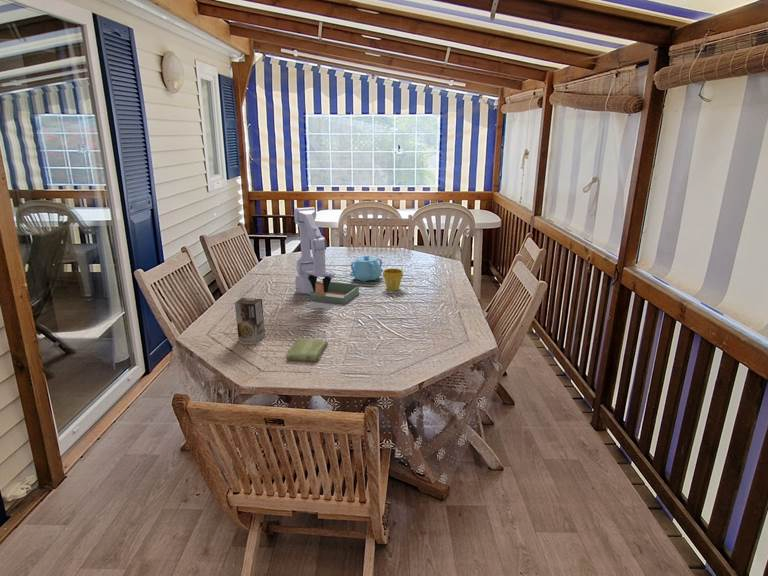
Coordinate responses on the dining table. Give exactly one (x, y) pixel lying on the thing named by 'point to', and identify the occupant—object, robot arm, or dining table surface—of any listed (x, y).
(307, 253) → the robot arm
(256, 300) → the coffee box
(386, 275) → the plant pot
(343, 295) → the green shallow tray
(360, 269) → the decorative pot
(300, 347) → the washcloth
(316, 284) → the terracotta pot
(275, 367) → the dining table surface
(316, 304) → the mat
